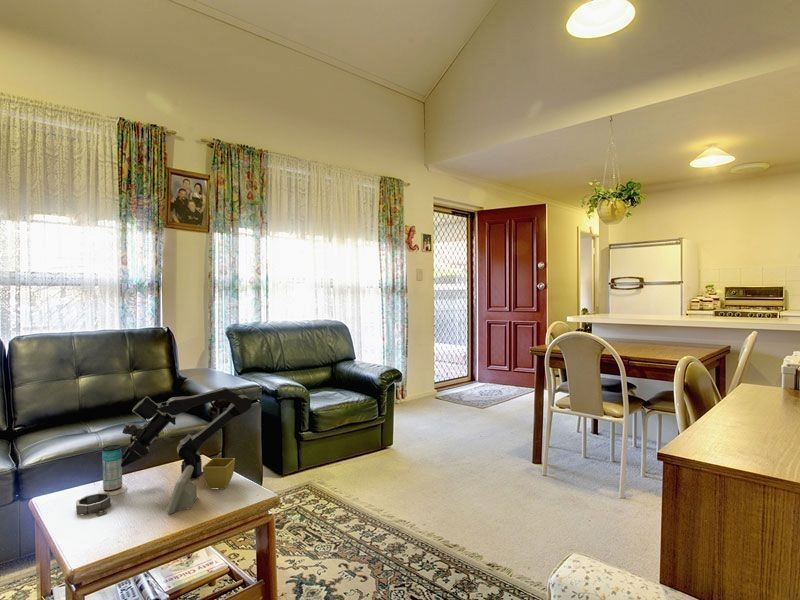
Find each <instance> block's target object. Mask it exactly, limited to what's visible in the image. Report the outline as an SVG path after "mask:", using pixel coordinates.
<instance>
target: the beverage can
mask: <svg viewBox="0 0 800 600" xmlns="http://www.w3.org/2000/svg"><path fill="white" fill-rule="evenodd" d="M101 450H102V451H101V458H102V460H101V462H102V486H103V487H102V488H103V489H104V491H106V492H111V491H116V490H118V489H120V488H121V487H122V484H123V467H122V466H121V464H122V462H123V458H122V456H123V454H122V445H120V444H113V445H107V446H105V447H103V448H101Z"/></svg>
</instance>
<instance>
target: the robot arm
mask: <svg viewBox="0 0 800 600" xmlns="http://www.w3.org/2000/svg"><path fill="white" fill-rule="evenodd" d="M219 400H226V401H228V402H229V403H230V404H229V405H228V407H227V409H226V410H224V411H223V412H222V413H221V414H219V415H218V416H217V417H216V418H215V419H212V421H211V422H210V423H208V424H207V425H206V426H204V428H201V430H200V431H199V432H197V433H196V434H193V435H191V434H190V433H188V434H187V435H186V436H185V437H184V438H183V439H180V440H179V443H178V445H177V446H176V450H177V455H178V457H179V459H181V460H182V461H181V465H180V470H181V471H180V472H181V473H180V475H181V474H182V473H183V471H184V470H185V468H186V467H187V466H189V465H192V466H193V467H194V469H193V472H192V475H191V478H190V479H191V480H197V479H198V478H199V477H201V476H203V475H204V473H203V466H202V456H201V454H200V451H199V450H200V448H202V445H203V444H204V443H205V442H206V441H208V440H209V439H210V438H211V437H212V436H214V435H215V434H216V433H217V432H218V431H220V430H221V429H222V428H224V426H226V425H228V423H229V422H231V421H232V420H233V419H235V418H236V417H239V416H242V415H243V414H245V413H246V412H248V411H249V410H250V409H251V408H252V400H251V399H250V398H249V397H248V396H247V395H245V394H238V393H236V392H235V391H233V390H231V389H229V388H228V387H225V386H224V387H221V388H217V389H213V390H210V391H206V392H202V393H198V394H195V395H190V396H189V395H188V396H174V397H170V398H168V400H167V401H162V402H159V403H156V402H155V401H154V400H152V399H151V398H150V397H149V396H148V395H147V396H145V397H144V398H143V399H141V400H140V401H138V402H137V404H136V405H134V406H133V408H132V410H131V411H132V413H134V414H135V415H137V416H139V417H140V418H141V419H143V420H144V421H145V420H149V421H148V423H147V422H146V423H144V424H143V425H140V424H136V423H132V422H128V421H127V422H126V423H125V424H124V427H123V428H122V432H121V433H122V434H124V435H131V436H130V437H129V438H130V439H129V441H130V442H129V444H128V446H127V448H126V449H125V451H124V452H123V454H122V464H121V466H122V468H124V467H127V466H128V465H130V464H132V463H134V462H136V461H138V460H140V459H143V458H145V457H147V455H149V451H150V449H149V447H150V446H151V444H152V442H153V441H154V440H155V439H156V438H158V437H159V436H160V434H161V433H162V431H163V430H164V429H165V428H166V427H167V426H168V425H169V424H170V423H171V424H172V425H174V426H175V425H176V424H177V423H176V419H177V417H176V416H178V415H181V414H183V413H184V412H187V411H188V410H190V409H192V408H194V407H199V406H202V405H205V404H209V403H213V402H217V401H219ZM200 475H201V476H200Z"/></svg>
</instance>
